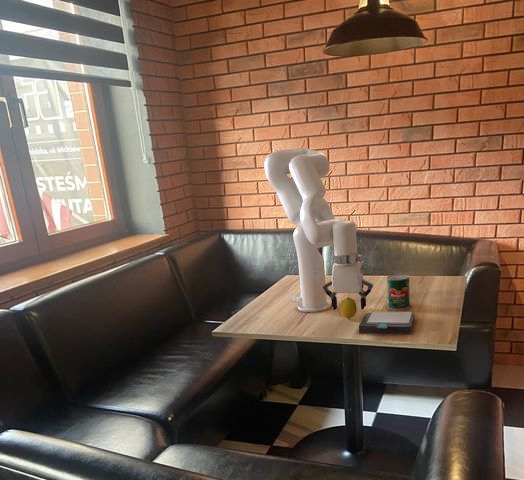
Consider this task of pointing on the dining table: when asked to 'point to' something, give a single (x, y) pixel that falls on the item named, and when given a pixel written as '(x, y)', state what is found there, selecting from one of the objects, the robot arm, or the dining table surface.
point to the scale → (387, 323)
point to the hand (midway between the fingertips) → (349, 308)
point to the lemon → (348, 308)
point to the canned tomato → (398, 292)
